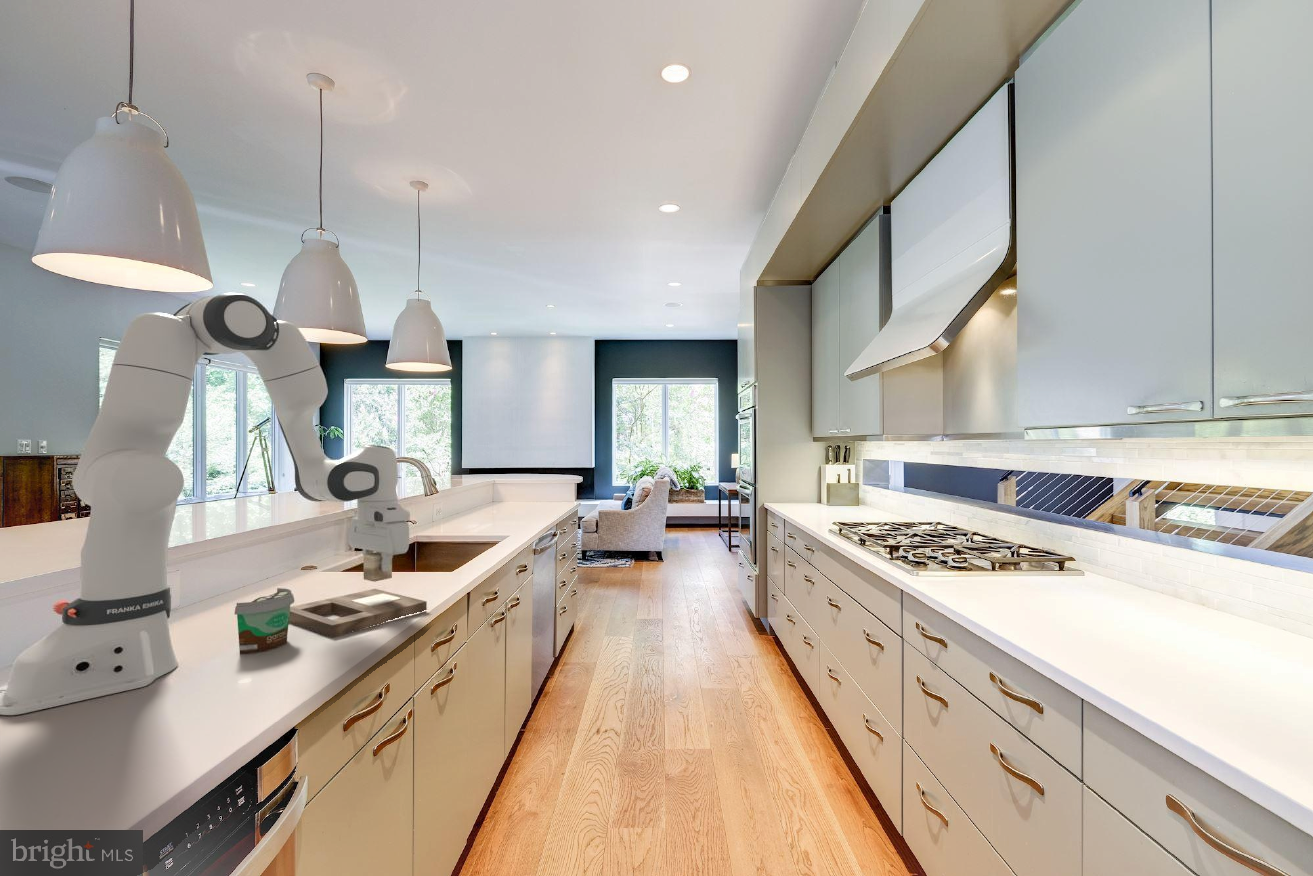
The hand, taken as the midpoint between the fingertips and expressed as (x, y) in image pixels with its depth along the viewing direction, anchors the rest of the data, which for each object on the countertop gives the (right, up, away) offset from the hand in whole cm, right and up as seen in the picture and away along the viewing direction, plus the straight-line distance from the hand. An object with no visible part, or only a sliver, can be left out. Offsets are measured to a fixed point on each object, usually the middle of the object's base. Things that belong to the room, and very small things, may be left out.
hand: (377, 569), depth 137 cm
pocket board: (-3, -10, -4) cm, 11 cm away
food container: (-9, -10, -24) cm, 28 cm away
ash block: (0, -2, 0) cm, 2 cm away
